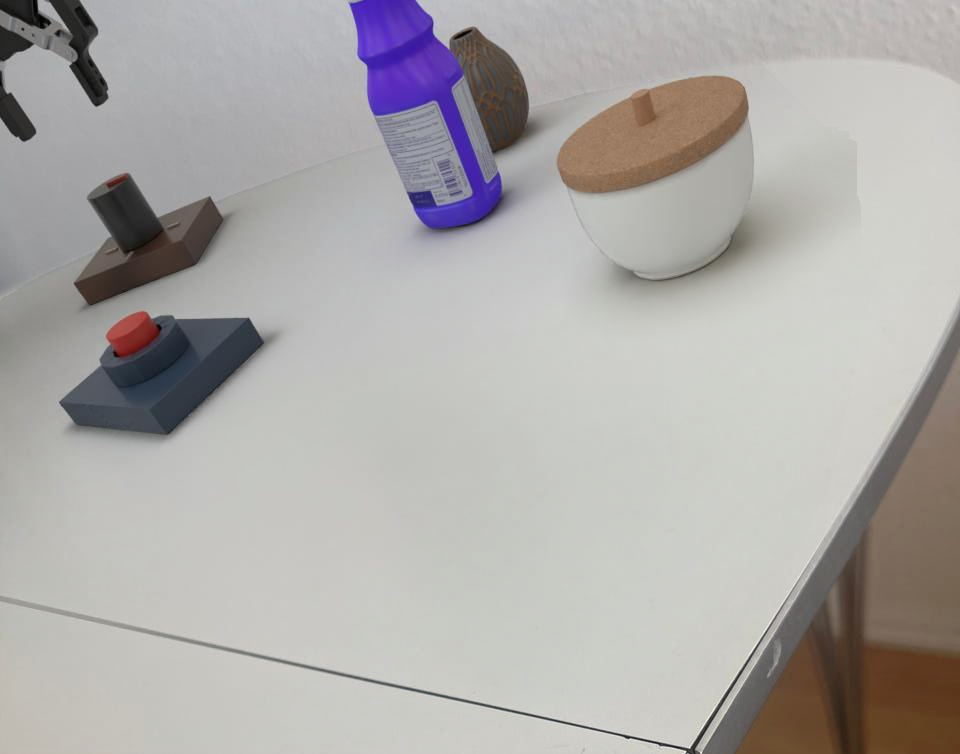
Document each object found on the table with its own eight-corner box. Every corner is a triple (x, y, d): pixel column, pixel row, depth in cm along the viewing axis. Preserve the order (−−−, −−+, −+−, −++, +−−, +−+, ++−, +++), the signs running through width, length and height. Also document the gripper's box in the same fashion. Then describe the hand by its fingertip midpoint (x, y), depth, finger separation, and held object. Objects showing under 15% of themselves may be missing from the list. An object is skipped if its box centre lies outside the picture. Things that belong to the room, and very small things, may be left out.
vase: (497, 163, 82) (456, 52, 76) (449, 160, 87) (408, 57, 81) (554, 120, 84) (519, 8, 78) (505, 120, 89) (468, 15, 83)
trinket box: (588, 321, 58) (535, 167, 52) (602, 235, 65) (556, 90, 59) (775, 270, 54) (741, 96, 48) (768, 184, 61) (738, 23, 55)
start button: (111, 359, 75) (96, 339, 74) (143, 330, 76) (130, 311, 75) (137, 359, 73) (122, 339, 72) (169, 330, 74) (156, 310, 73)
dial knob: (114, 257, 98) (77, 201, 94) (130, 235, 101) (95, 181, 98) (154, 241, 97) (117, 184, 93) (168, 220, 100) (134, 164, 96)
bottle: (520, 187, 77) (429, -65, 65) (486, 227, 74) (384, -29, 62) (446, 200, 81) (349, -35, 69) (412, 238, 78) (304, 0, 67)
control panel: (88, 305, 99) (71, 281, 98) (121, 259, 106) (106, 236, 104) (196, 263, 95) (180, 238, 93) (223, 218, 102) (209, 194, 100)
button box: (75, 424, 79) (42, 383, 76) (168, 341, 83) (140, 300, 81) (167, 434, 70) (133, 388, 68) (264, 342, 75) (236, 295, 73)
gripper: (21, -128, 81) (141, 76, 91) (-105, -52, 85) (22, 133, 96) (-18, -108, 76) (114, 106, 86) (-150, -29, 80) (-10, 164, 91)
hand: (65, 120), depth 91 cm, fingers open, 8 cm apart
